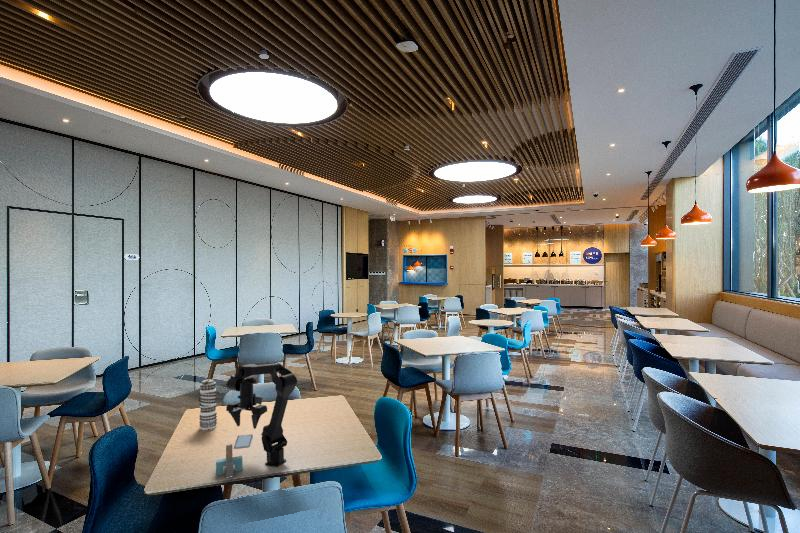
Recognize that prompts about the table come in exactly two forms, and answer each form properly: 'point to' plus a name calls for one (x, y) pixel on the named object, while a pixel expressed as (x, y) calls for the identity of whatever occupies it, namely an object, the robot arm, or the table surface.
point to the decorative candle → (207, 404)
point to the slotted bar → (229, 468)
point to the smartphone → (243, 441)
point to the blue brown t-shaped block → (222, 462)
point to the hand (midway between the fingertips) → (246, 427)
